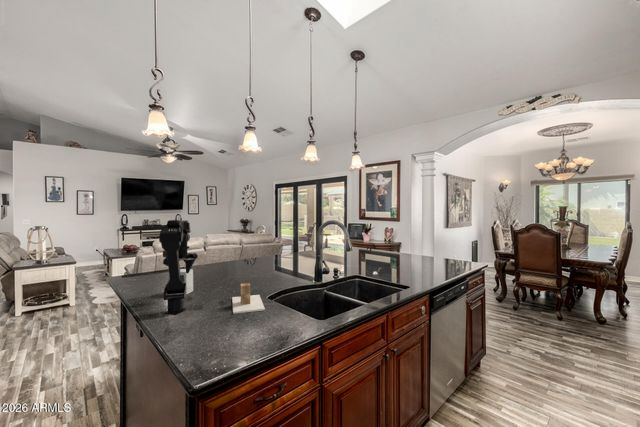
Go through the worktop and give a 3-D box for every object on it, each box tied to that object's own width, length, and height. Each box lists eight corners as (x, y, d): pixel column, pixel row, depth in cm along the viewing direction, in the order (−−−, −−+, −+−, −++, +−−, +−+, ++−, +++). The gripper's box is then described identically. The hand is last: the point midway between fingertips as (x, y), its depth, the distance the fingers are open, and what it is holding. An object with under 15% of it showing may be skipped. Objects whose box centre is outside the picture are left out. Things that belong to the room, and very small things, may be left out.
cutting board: (233, 313, 124) (233, 312, 124) (232, 298, 145) (232, 297, 145) (264, 310, 129) (264, 308, 128) (259, 296, 149) (259, 294, 149)
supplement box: (193, 290, 158) (193, 269, 158) (186, 294, 151) (186, 271, 151) (181, 290, 159) (181, 268, 159) (173, 294, 152) (173, 271, 152)
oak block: (240, 304, 134) (240, 286, 134) (240, 301, 138) (240, 283, 138) (250, 303, 135) (250, 285, 135) (249, 300, 139) (249, 283, 139)
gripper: (180, 242, 152) (180, 270, 152) (153, 246, 134) (153, 278, 134) (198, 242, 150) (198, 271, 150) (173, 247, 132) (173, 280, 132)
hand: (181, 275), depth 142 cm, fingers open, 9 cm apart
